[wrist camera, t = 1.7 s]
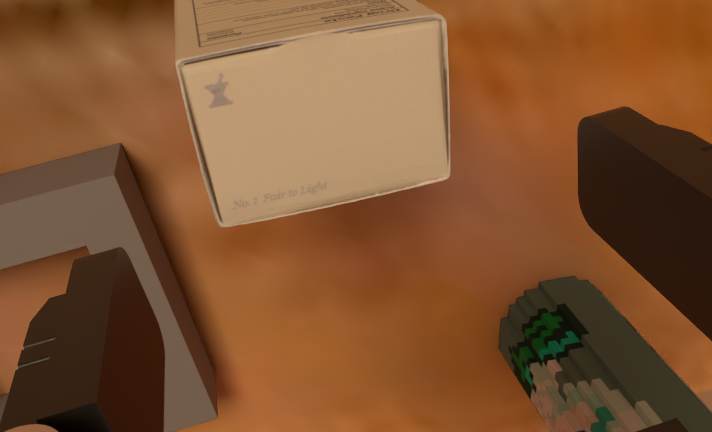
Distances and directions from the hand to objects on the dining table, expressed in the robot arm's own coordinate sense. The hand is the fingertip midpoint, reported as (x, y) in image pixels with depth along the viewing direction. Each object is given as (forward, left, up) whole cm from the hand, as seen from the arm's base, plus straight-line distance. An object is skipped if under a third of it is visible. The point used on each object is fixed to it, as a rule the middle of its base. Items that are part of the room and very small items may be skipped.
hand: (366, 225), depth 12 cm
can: (-11, +20, -17) cm, 28 cm away
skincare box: (0, 0, -17) cm, 17 cm away
